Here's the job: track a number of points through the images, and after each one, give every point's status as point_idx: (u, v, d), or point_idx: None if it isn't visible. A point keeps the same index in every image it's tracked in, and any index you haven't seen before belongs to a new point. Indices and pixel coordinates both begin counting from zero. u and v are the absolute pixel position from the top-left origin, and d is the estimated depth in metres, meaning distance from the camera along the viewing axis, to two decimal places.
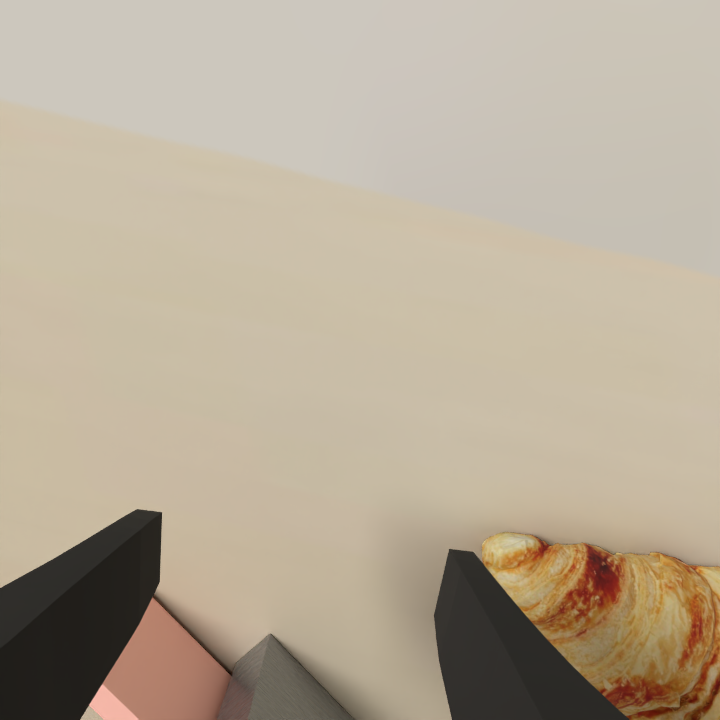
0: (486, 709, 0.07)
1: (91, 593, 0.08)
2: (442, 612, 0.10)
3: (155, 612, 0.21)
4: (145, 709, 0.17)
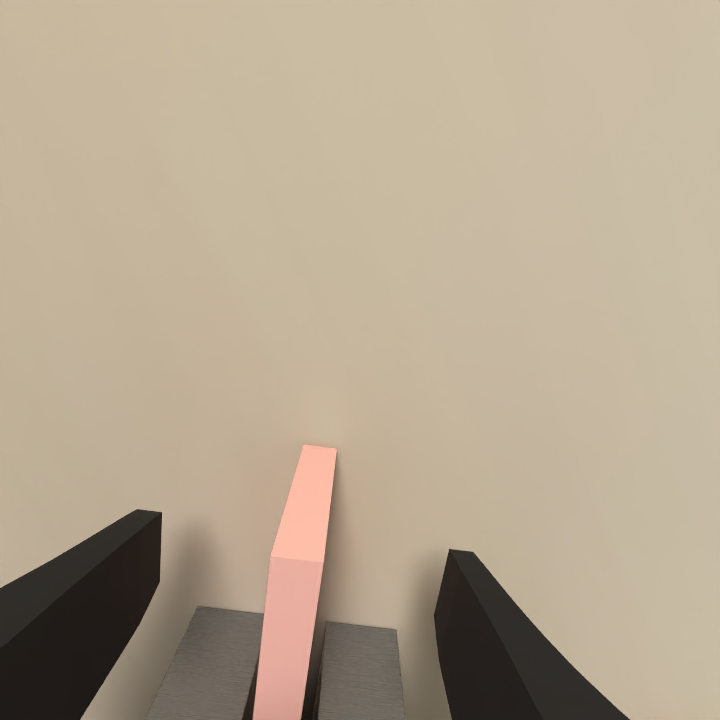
0: (486, 709, 0.07)
1: (91, 593, 0.08)
2: (442, 612, 0.10)
3: None
4: None
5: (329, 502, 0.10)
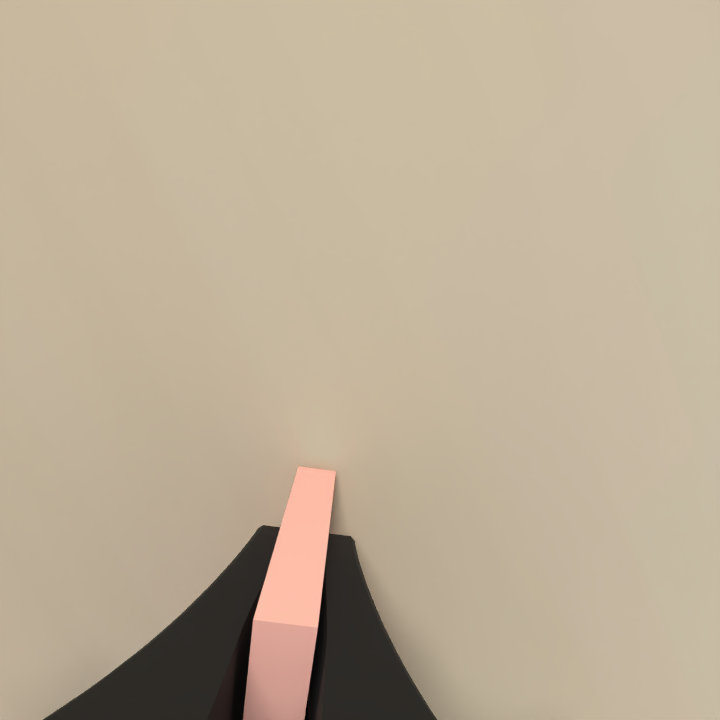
0: (317, 689, 0.07)
1: None
2: None
3: None
4: None
5: (326, 541, 0.08)
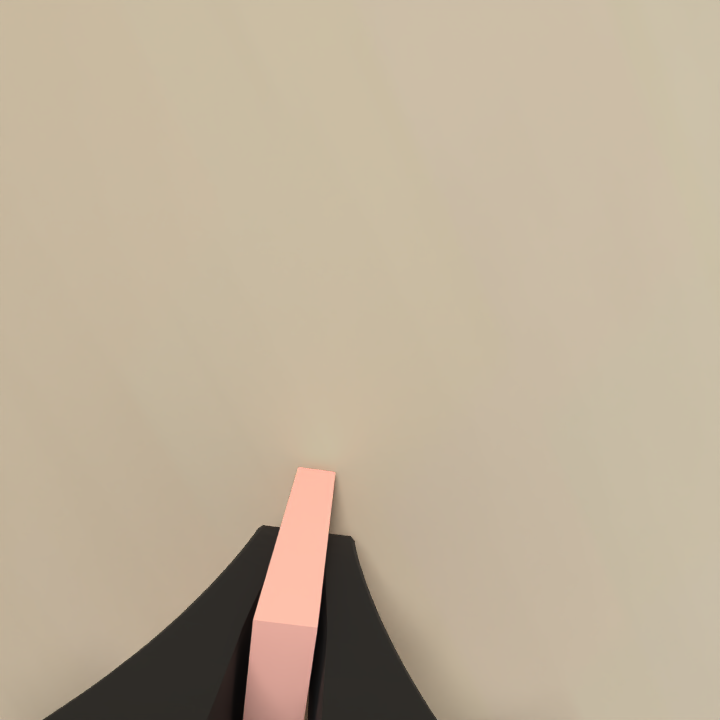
0: (317, 689, 0.07)
1: None
2: None
3: None
4: None
5: (326, 542, 0.08)
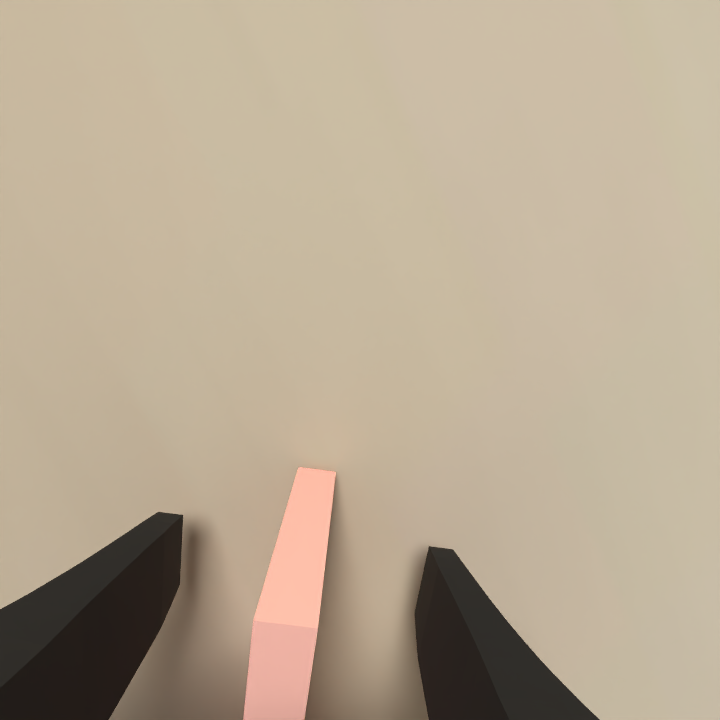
0: (458, 706, 0.07)
1: (119, 596, 0.08)
2: (421, 609, 0.10)
3: None
4: None
5: (326, 542, 0.08)
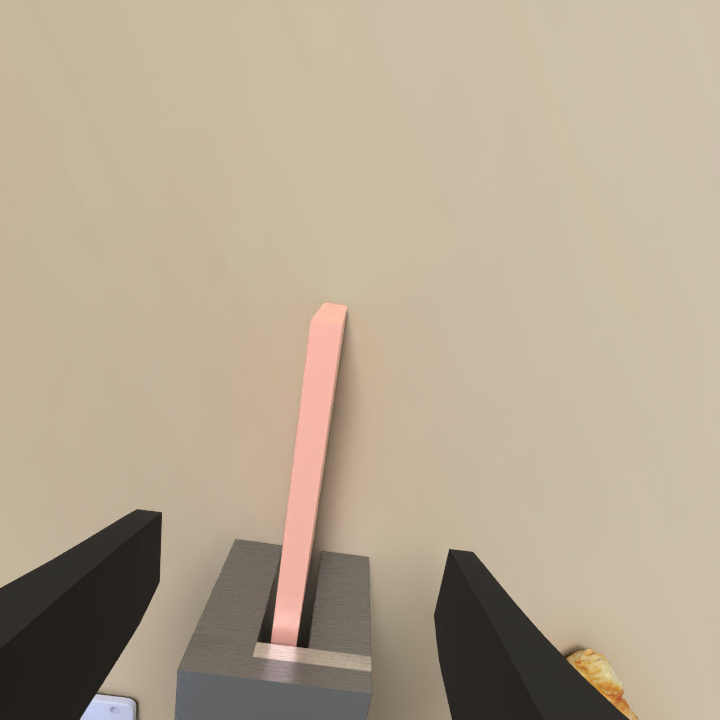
0: (486, 709, 0.07)
1: (91, 593, 0.08)
2: (442, 612, 0.10)
3: (341, 344, 0.18)
4: (328, 420, 0.15)
5: (344, 315, 0.15)
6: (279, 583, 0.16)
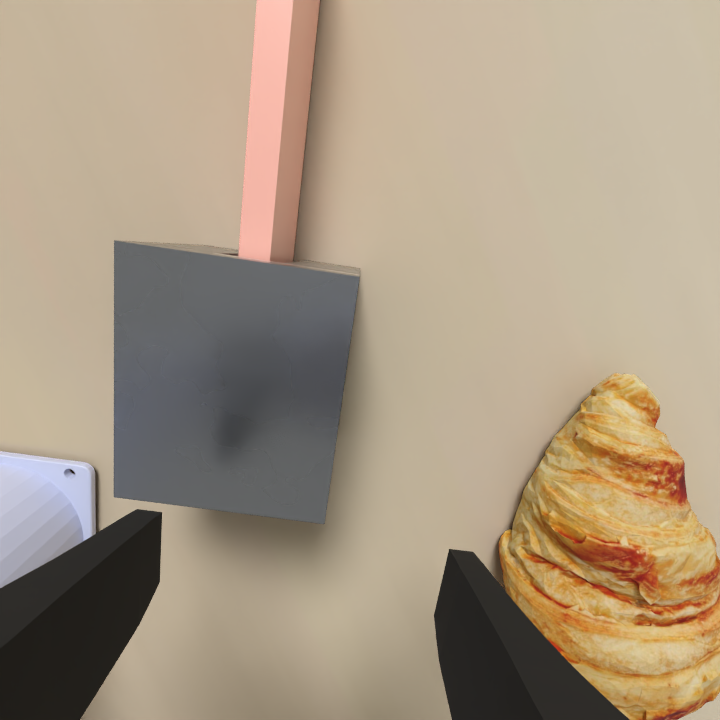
0: (486, 709, 0.07)
1: (91, 593, 0.08)
2: (442, 612, 0.10)
3: None
4: None
5: None
6: (245, 175, 0.13)
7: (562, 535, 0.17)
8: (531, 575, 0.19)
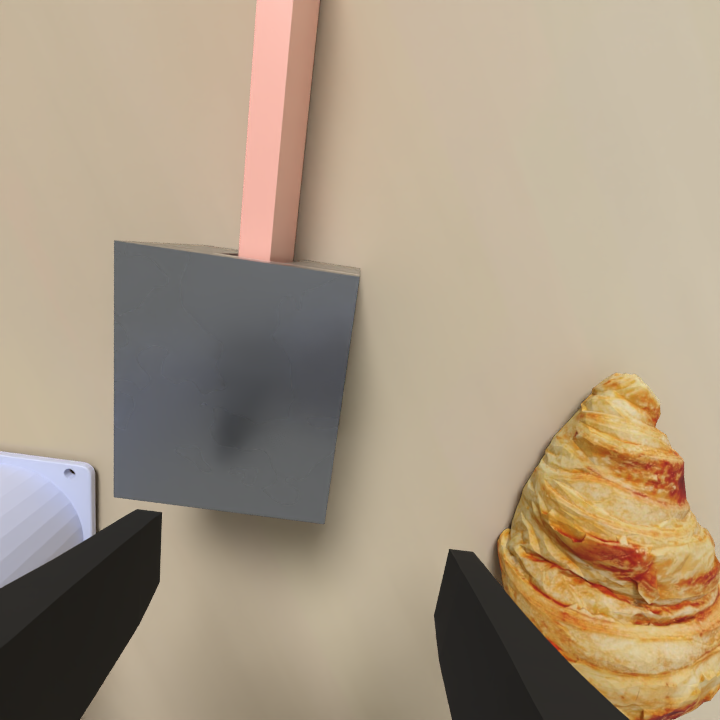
0: (486, 709, 0.07)
1: (91, 593, 0.08)
2: (442, 612, 0.10)
3: None
4: None
5: None
6: (245, 175, 0.13)
7: (561, 534, 0.17)
8: (530, 574, 0.19)
